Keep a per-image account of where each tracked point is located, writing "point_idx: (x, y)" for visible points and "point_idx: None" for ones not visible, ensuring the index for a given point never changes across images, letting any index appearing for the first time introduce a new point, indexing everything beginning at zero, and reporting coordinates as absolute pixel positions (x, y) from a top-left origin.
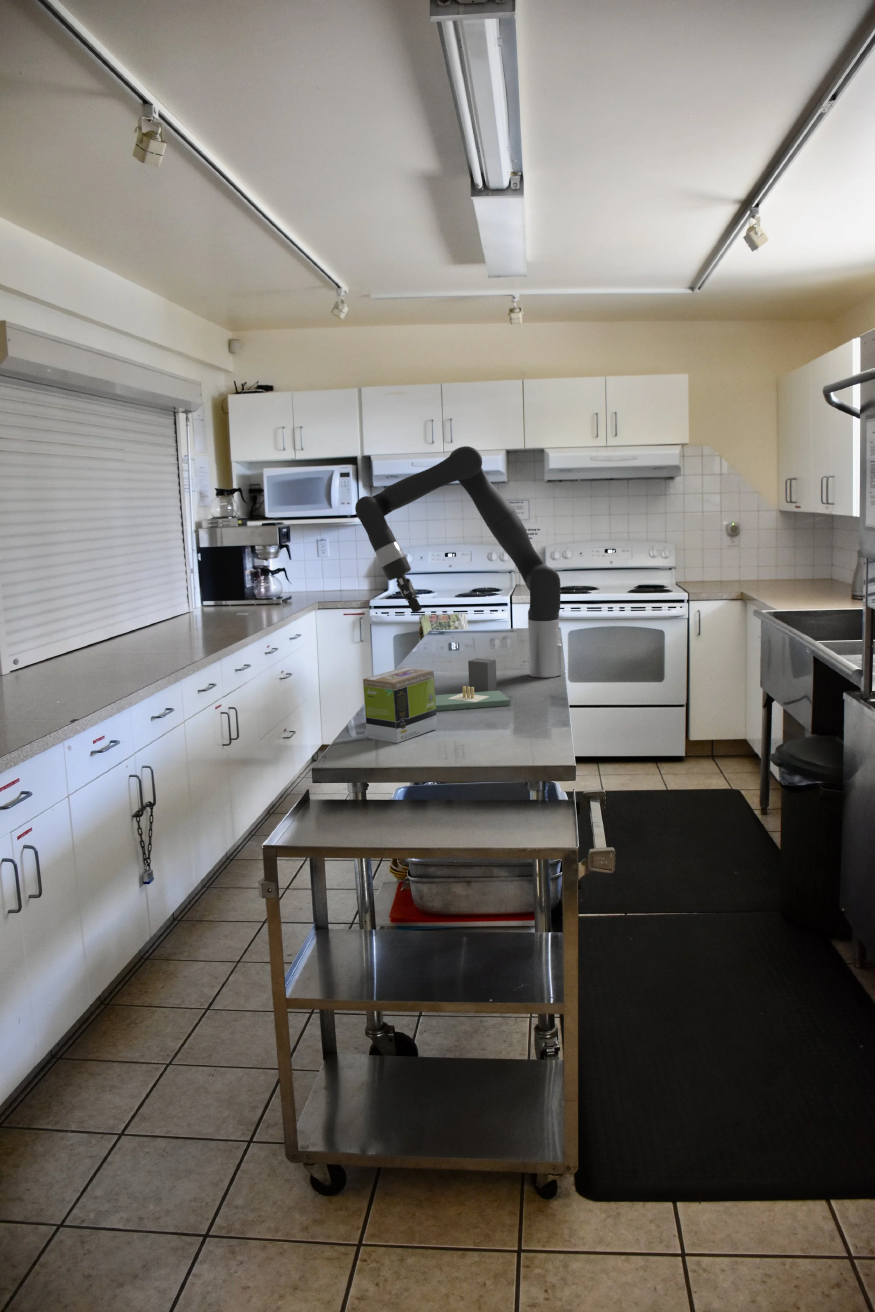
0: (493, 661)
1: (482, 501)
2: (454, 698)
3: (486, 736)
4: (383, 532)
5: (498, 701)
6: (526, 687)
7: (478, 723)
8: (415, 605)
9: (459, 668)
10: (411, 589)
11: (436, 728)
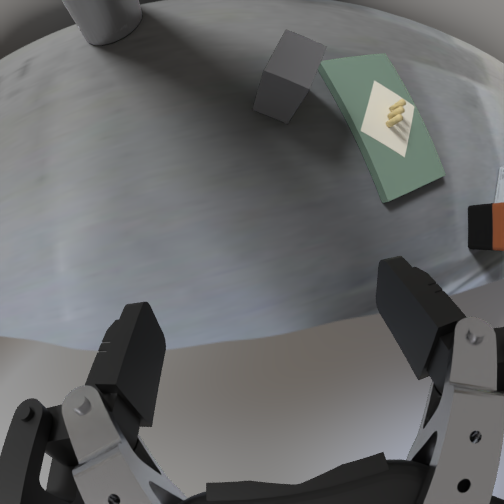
0: (297, 35)
1: None
2: (401, 143)
3: (498, 112)
4: None
5: (395, 71)
6: (230, 27)
7: (470, 114)
8: (434, 285)
9: (23, 212)
10: (499, 393)
11: (500, 168)
